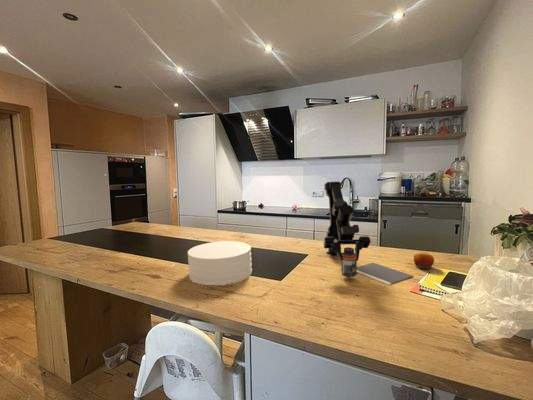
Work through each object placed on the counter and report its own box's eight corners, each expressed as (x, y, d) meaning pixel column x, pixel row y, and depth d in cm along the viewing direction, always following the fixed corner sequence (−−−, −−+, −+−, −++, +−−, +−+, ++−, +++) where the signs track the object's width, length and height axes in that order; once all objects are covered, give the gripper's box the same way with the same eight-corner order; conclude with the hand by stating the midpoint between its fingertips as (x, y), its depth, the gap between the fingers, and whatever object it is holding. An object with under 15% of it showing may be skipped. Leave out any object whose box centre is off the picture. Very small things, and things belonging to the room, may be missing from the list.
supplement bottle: (345, 271, 116) (345, 245, 115) (358, 274, 112) (358, 247, 111) (339, 275, 111) (339, 249, 110) (353, 279, 108) (353, 251, 106)
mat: (349, 269, 121) (349, 268, 121) (373, 263, 129) (373, 262, 129) (388, 285, 104) (388, 284, 104) (413, 276, 111) (413, 275, 111)
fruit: (413, 267, 118) (413, 249, 121) (413, 271, 124) (413, 254, 127) (435, 269, 114) (435, 251, 117) (433, 273, 121) (433, 256, 124)
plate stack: (241, 288, 106) (240, 259, 105) (177, 284, 112) (175, 257, 111) (258, 264, 133) (257, 241, 132) (205, 262, 139) (204, 240, 138)
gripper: (324, 218, 114) (328, 251, 104) (369, 217, 112) (378, 251, 103) (322, 232, 122) (325, 264, 113) (364, 231, 121) (371, 263, 111)
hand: (349, 260), depth 110 cm, fingers closed on supplement bottle, 6 cm apart
